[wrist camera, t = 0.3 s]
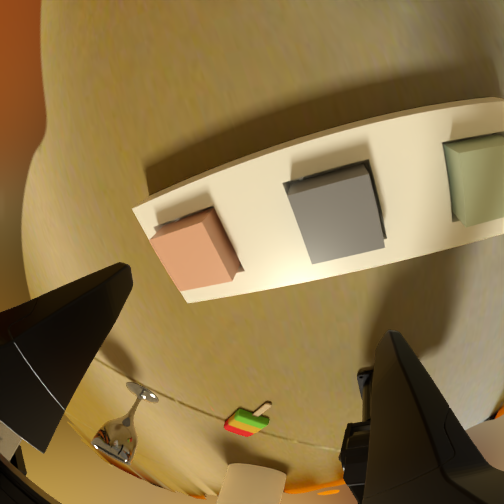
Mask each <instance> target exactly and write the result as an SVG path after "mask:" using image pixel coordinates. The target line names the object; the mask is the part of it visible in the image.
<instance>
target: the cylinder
mask: <svg viewBox="0 0 504 504" xmlns="http://www.w3.org/2000/svg"><path fill="white" fill-rule="evenodd" d="M285 481H286V474H285V473H283V472H281V471H278V470H275V469H271V468H267V467H263V466H257V465H251V464H242V463H233V464H229V465H228V468H227V471H226V475H225V478H224V481H223V484H222V487H221V490H220V493H219V496H218V499H217V503H216V504H280V502H281V498H282V494H283V490H284V485H285Z"/></svg>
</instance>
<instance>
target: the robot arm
mask: <svg viewBox="0 0 504 504" xmlns="http://www.w3.org/2000/svg"><path fill="white" fill-rule="evenodd" d="M132 287H133V279H132V273H131V267H130V266H129V265H128V264H125V263H122V262H119V263H116V264H114V265H111V266H109V267H106V268H104V269H101V270H99V271H97V272H94V273H92V274H89V275H87V276H85V277H82V278H80V279H78V280H75V281H73V282H71V283H68V284H66V285H64V286H61V287H59V288H57V289H55V290H52V291H50V292H48V293H46V294H43V295H41V296H39V297H37V298H34V299H32V300H30V301H28V302H25V303H23V304H21V305H19V306H16V307H13V308H11V309H8V310H5V311H3V312H0V504H61V503H60V502H58V501H57V500H55V499H54V498H53V497H51V496H50V495H48V494H47V493H46V492H44V491H43V490H42V489H41V488H39V487H38V486H37V485H36V484H34V483H33V482H32V481H31V480H29V479H28V478H27V477H26V474H27V472H26V468H25V464H24V459H23V455H22V450H21V446H20V445H19V444H20V442H21V440H22V439H24V440H25V441H26V442H28V443H29V444H30V445H32V446H33V447H35V448H36V449H37V450H39V451H40V452H42V453H45V451H46V449H47V447H48V445H49V443H50V441H51V438H52V436H53V434H54V432H55V430H56V428H57V426H58V424H59V422H60V420H61V418H62V416H63V414H64V412H65V410H66V408H67V406H68V404H69V402H70V400H71V398H72V396H73V395H74V393H75V391H76V389H77V387H78V385H79V383H80V382H81V380H82V378H83V376H84V374H85V373H86V371H87V369H88V367H89V366H90V364H91V362H92V360H93V359H94V357H95V355H96V353H97V352H98V350H99V348H100V347H101V345H102V343H103V342H104V340H105V338H106V337H107V335H108V333H109V332H110V330H111V329H112V327H113V325H114V324H115V322H116V320H117V318H118V316H119V314H120V312H121V310H122V308H123V306H124V304H125V302H126V300H127V298H128V296H129V294H130V292H131V290H132ZM357 380H358V384H359V389H360V393H361V398H362V400H363V415H362V422H358V423H348V424H347V428H346V430H345V434H344V439H343V444H342V448H341V452H340V455H339V460H340V461H341V462H342V468H343V470H344V476H343V479H344V481H345V483H346V484H347V486H349V488H350V490H351V491H352V493H353V495H354V496H355V498H356V500H357V501H358V504H504V471H501V470H498V469H496V468H494V467H492V466H491V465H489V463H488V462H487V461H486V460H485V459H484V457H483V456H482V454H481V453H480V451H479V450H478V449H477V447H476V446H475V445H474V443H473V442H472V440H471V439H470V437H469V436H468V434H467V433H466V431H465V430H464V429H463V427H462V426H461V424H460V422H459V421H458V419H457V418H456V416H455V414H454V413H453V411H452V410H451V408H449V405H448V403H447V402H446V400H445V398H444V397H443V395H442V394H441V392H440V391H439V389H438V387H437V386H436V384H435V383H434V381H433V380H432V378H431V377H430V375H429V374H428V372H427V371H426V369H425V368H424V366H423V365H422V363H421V362H420V360H419V359H418V358H417V356H416V355H415V353H414V352H413V350H412V349H411V347H410V346H409V345H408V343H407V342H406V340H405V339H404V338H403V336H402V335H401V333H400V332H398V331H393V330H388V331H387V332H386V333H385V335H384V336H383V338H382V339H381V341H380V342H379V344H378V346H377V348H376V354H375V365H374V370H373V371H367V372H361V373H358V374H357Z"/></svg>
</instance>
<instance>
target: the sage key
mask: <svg viewBox="0 0 504 504" xmlns="http://www.w3.org/2000/svg"><path fill="white" fill-rule="evenodd" d="M443 146H444V151H445V156H446V162H447V169H448V175H449V183H450V191H451V201H452V212H453V213H454V214H455V215H456V216H457V218H458V219H459V220H460V221H461V222H462V224H463V225H464V226H465V227H470V226H473V225H477V224H481V223H485V222H488V221H492V220H496V219H499V218H503V217H504V137H502V136H499V135H494V136H488V137H482V138H476V139H471V140H465V141H460V142H455V143H450V144H445V145H443Z"/></svg>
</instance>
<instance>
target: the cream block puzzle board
mask: <svg viewBox="0 0 504 504" xmlns="http://www.w3.org/2000/svg"><path fill="white" fill-rule="evenodd" d="M494 135H499V136H502V137H504V99H502V98H496V97H485V98H476V99H468V100H461V101H454V102H447V103H441V104H435V105H429V106H424V107H418V108H413V109H408V110H403V111H398V112H394V113H389V114H385V115H381V116H376V117H372V118H368V119H364V120H360V121H356V122H352V123H348V124H345V125H341V126H337V127H334V128H330V129H327V130H323V131H320V132H316V133H313V134H310V135H306V136H303V137H300V138H297V139H294V140H291V141H288V142H284V143H281V144H278V145H275V146H272V147H270V148H267V149H264V150H261V151H258V152H255V153H252V154H250V155H247V156H244V157H242V158H239V159H236V160H233V161H231V162H228V163H226V164H223V165H220V166H218V167H215V168H213V169H210V170H208V171H205V172H203V173H201V174H198V175H196V176H193V177H191V178H189V179H186V180H184V181H182V182H179V183H177V184H175V185H172V186H170V187H168V188H166V189H163V190H161V191H159V192H157V193H155V194H152V195H150V196H148V197H147V198H146V199H144V200H143V201H142V202H140V203H139V204H138V205H136V206H135V207H134V208H133V209H132V210H133V212H134V213H135V215H136V217H137V219H138V221H139V223H140V224H141V226H142V228H143V230H144V232H145V233H146V235H147V237H148V239H149V240H150V239H151V238H152V237H153V236H154V235H155V234H156V233H157V232H158V231H159V230H160V229H161V228H162V227H163V226H164V225H166V224H169V223H172V222H174V221H177V220H180V219H183V218H186V217H188V216H191V215H194V214H197V213H200V212H203V211H206V210H208V209H211V208H215V210H216V213H217V215H218V217H219V219H220V221H221V223H222V225H223V227H224V229H225V231H226V233H227V235H228V237H229V239H230V242H231V244H232V246H233V248H234V250H235V252H236V254H237V256H238V258H239V260H240V262H241V263H240V266H239V268H238V270H237V272H236V275H235V277H234V279H233V281H231V282H226V283H221V284H216V285H211V286H206V287H201V288H196V289H191V290H185V291H180V292H181V294H182V295H183V297H184V298H185V300H186V301H187V303H192V302H198V301H205V300H211V299H217V298H222V297H228V296H234V295H240V294H245V293H251V292H256V291H262V290H267V289H272V288H277V287H283V286H288V285H293V284H298V283H303V282H308V281H313V280H318V279H322V278H327V277H332V276H337V275H341V274H346V273H350V272H355V271H359V270H364V269H368V268H373V267H377V266H381V265H386V264H390V263H394V262H398V261H402V260H406V259H411V258H415V257H419V256H423V255H427V254H431V253H434V252H438V251H442V250H446V249H450V248H454V247H457V246H461V245H465V244H468V243H472V242H476V241H479V240H483V239H486V238H490V237H493V236H497V235H500V234H503V233H504V217H503V218H499V219H496V220H492V221H488V222H485V223H481V224H477V225H473V226H470V227H465V226H464V225H463V224H462V222H461V221H460V220H459V219H458V218H457V216H456V215H455V214H454V213H453V212H452V201H451V191H450V183H449V175H448V169H447V162H446V156H445V151H444V146H443V145H445V144H450V143H455V142H460V141H465V140H471V139H476V138H482V137H488V136H494ZM362 163H363V164H364V166H365V168H366V170H367V172H368V173H369V177H370V181H371V185H372V189H373V193H374V197H375V201H376V205H377V210H378V214H379V219H380V224H381V229H382V234H383V239H384V245H385V248H382V249H378V250H373V251H369V252H365V253H361V254H356V255H352V256H348V257H343V258H339V259H334V260H330V261H326V262H321V263H317V264H312V263H311V260H310V257H309V254H308V252H307V249H306V246H305V243H304V240H303V237H302V235H301V232H300V229H299V226H298V224H297V221H296V218H295V215H294V213H293V210H292V207H291V205H290V202H289V199H288V197H287V195H288V192H289V189H290V186H291V183H293V182H296V181H300V180H303V179H307V178H310V177H314V176H317V175H321V174H324V173H328V172H332V171H335V170H339V169H343V168H347V167H350V166H354V165H358V164H362Z"/></svg>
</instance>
